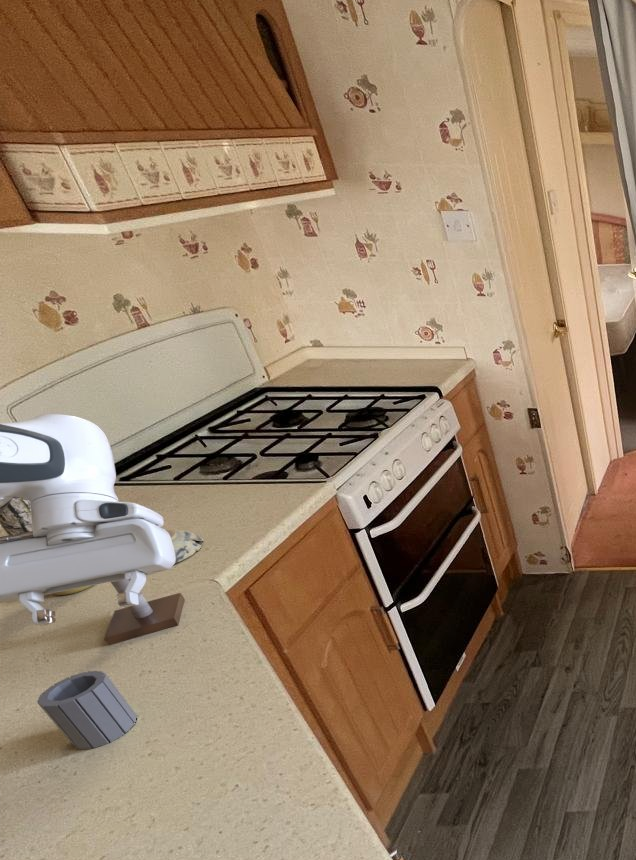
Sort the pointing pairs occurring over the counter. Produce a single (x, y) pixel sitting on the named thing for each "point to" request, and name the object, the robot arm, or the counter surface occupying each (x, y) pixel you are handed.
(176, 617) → the stand
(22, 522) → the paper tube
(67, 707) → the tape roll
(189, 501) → the counter surface
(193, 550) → the decorative bowl
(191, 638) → the counter surface
